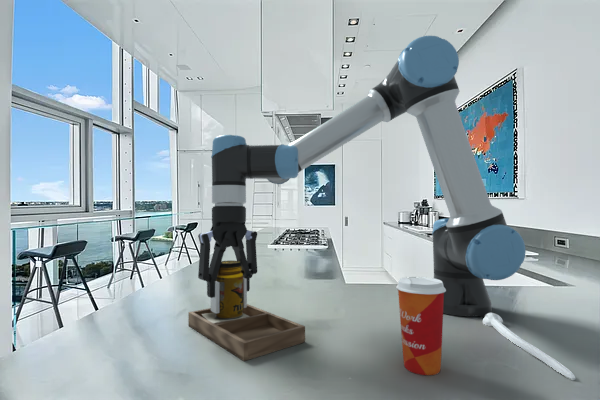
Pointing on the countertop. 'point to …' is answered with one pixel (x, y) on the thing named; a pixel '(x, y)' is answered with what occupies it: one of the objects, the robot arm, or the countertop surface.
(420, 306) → the paper cup
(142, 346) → the countertop surface
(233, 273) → the condiment
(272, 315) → the caddy
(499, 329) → the white nail
